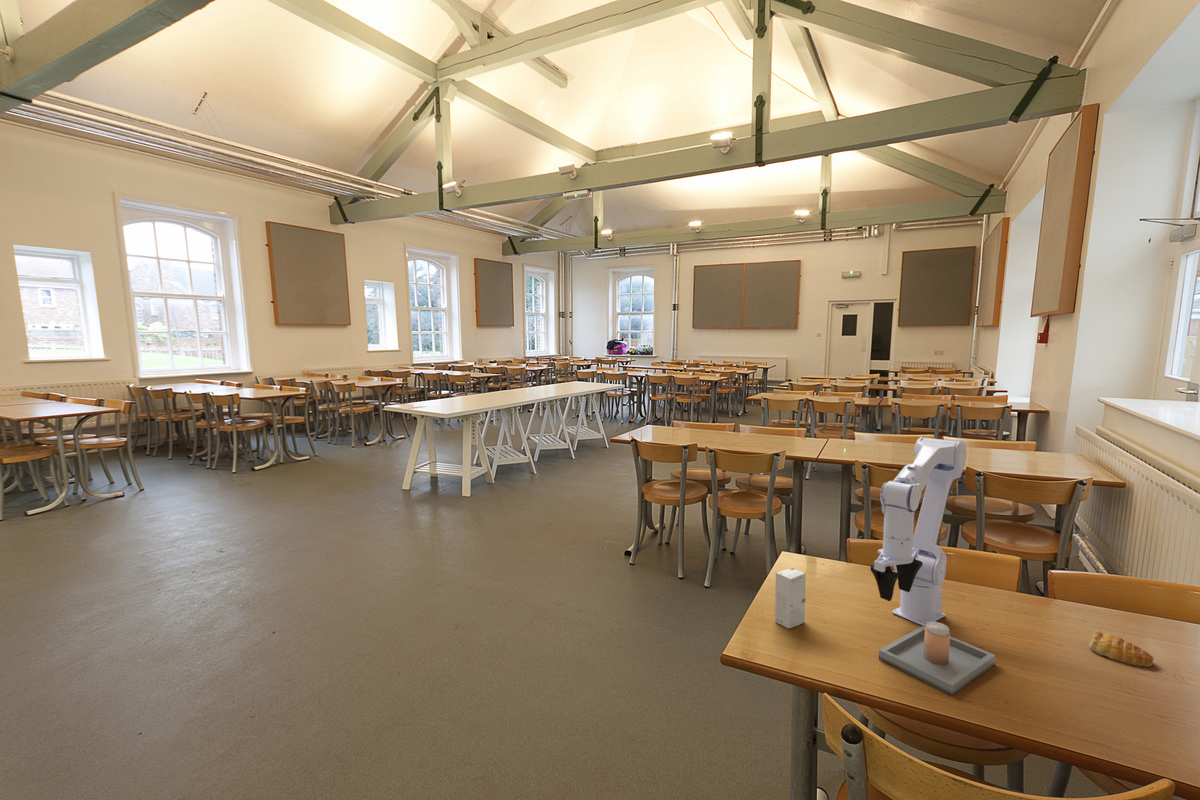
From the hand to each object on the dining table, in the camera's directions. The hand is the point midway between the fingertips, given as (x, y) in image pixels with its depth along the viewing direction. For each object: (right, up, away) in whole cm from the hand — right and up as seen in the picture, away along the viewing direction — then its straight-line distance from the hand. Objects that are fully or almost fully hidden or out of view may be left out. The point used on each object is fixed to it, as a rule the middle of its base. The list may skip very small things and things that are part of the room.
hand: (895, 594), depth 118 cm
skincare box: (-21, -10, +8) cm, 24 cm away
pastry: (+43, -11, -6) cm, 45 cm away
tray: (+4, -11, -8) cm, 14 cm away
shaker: (+4, -10, -8) cm, 14 cm away
